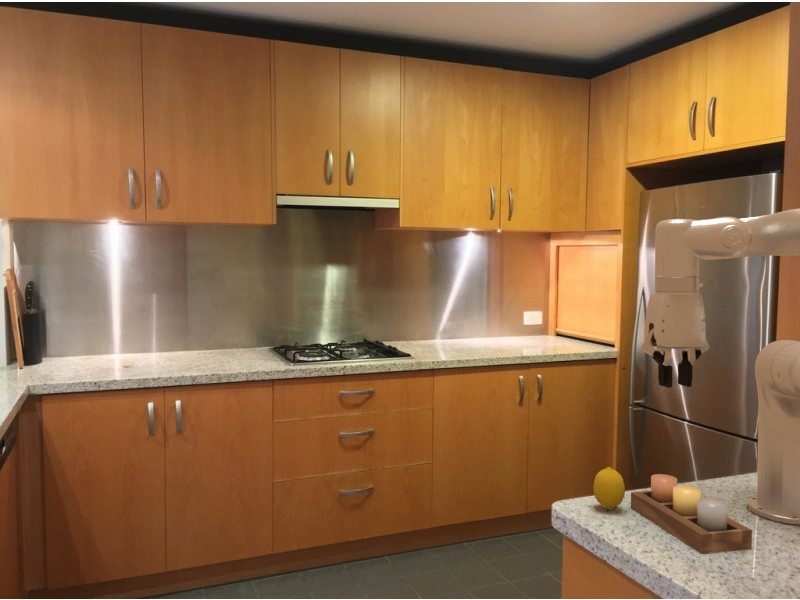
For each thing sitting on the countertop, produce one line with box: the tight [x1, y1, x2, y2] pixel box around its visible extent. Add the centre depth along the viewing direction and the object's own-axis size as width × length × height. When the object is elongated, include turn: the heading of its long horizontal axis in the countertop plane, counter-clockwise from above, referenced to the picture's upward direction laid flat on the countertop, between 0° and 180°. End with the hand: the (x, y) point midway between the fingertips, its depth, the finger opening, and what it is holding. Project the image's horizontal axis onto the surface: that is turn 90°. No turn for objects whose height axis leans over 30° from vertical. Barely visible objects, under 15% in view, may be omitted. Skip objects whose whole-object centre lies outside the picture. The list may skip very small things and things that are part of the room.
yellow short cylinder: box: [673, 484, 702, 517], centre depth 110 cm, size 4×4×4 cm
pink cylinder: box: [650, 473, 678, 503], centre depth 116 cm, size 4×4×4 cm
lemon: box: [592, 466, 626, 511], centre depth 118 cm, size 6×6×8 cm
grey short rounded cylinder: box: [697, 497, 729, 532], centre depth 103 cm, size 4×4×4 cm
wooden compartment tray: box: [630, 490, 753, 555], centre depth 110 cm, size 9×20×3 cm, turn 11°
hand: (675, 385), depth 118 cm, fingers open, 3 cm apart
